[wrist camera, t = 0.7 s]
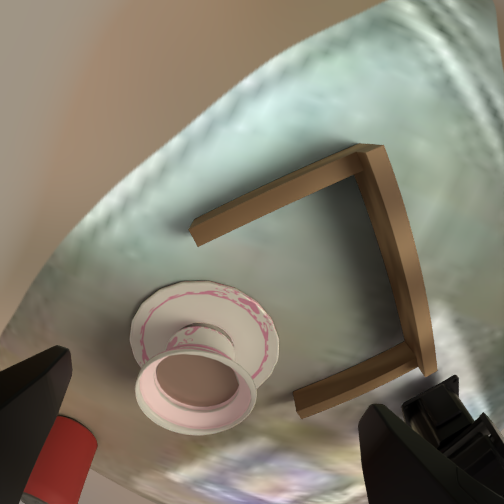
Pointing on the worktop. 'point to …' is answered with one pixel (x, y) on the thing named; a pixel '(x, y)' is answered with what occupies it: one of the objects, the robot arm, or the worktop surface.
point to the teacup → (201, 356)
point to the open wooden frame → (392, 249)
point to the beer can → (61, 464)
